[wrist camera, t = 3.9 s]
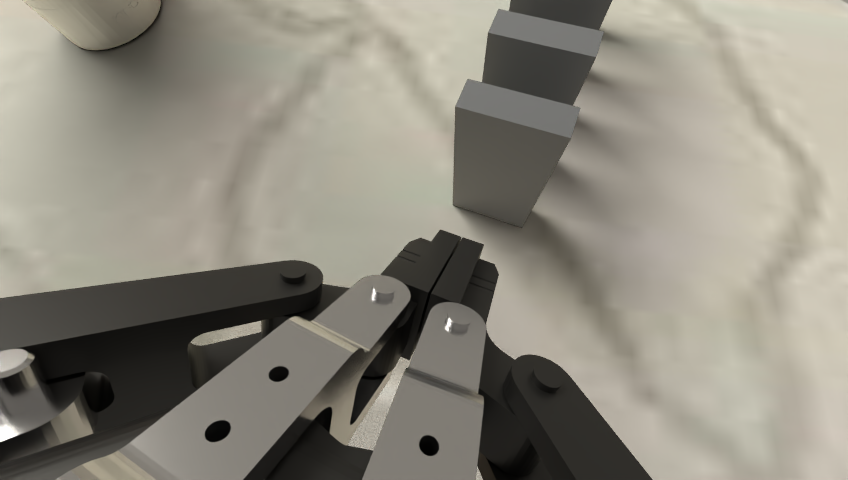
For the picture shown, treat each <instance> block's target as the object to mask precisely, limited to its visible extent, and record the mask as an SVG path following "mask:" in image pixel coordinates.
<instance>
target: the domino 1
mask: <svg viewBox="0 0 848 480" xmlns="http://www.w3.org/2000/svg"><path fill="white" fill-rule="evenodd" d="M611 2H612V0H511V2H510V8H509V11H510V12H515V13H520V14H524V15H529V16H534V17H538V18H543V19H548V20H552V21H557V22H562V23H566V24H571V25H576V26H580V27H585V28H590V29H594V30H599V28H600V26H601V24H602V22H603V20H604V17H605V15H606V13H607V11H608V9H609V6H610V4H611Z"/></svg>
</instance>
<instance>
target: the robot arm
mask: <svg viewBox="0 0 848 480" xmlns="http://www.w3.org/2000/svg"><path fill="white" fill-rule="evenodd" d="M23 1H24V2H25V3H26V4H27V5H29V6H30V7H31V8H32V9H33V10H34V11H36V12H37V13H38V14H39V15H40V16H42V17H43V18H44V19H45V20H46V21H47V22H49V23H50V24H51V25H52V26H53V27H55V28H56V29H57V30H58V31H59V32H60V33H62V34H63V35H64V36H65V37H66V38H68V39H69V40H70V41H71V42H72V43H74V44H75V45H77V46H78V47H81V48H84V49H88V50H104V49H109V48H113V47H117V46H120V45H122V44H125V43H127V42H129V41H130V40H132V39H134V38H136V37H137V36H139V35H140V34H141V33H143V32H144V31H145V30H146V29H147V28H148V27H149V26H150V25H151V24H152V22H153V21H154V20H155V18H156V17H157V14H158V12H159V10H160V5H161V0H23ZM483 246H484V245H483V244H480V243H478V242H475V241H472V240H469V239H466V238H462V240H461V237H460V236H457V235H454V234H452V233H449V232H446V231H443V230H440V231H439V232H438V233H437V235H436V236H435V237H434V239H433V240H432V241H428V240H425V239H422V238H419V239H416V240H414V241H411V242H409V243H408V244H407V245H406V246H405V248H404V249H403V251H401V252H400V253H399V254H398V256H397V257H396V258H395V259H394V260H393V261H392V262H391V263H390V265H389V266H388V267H387V268H386V269H385V270H384V271H383V272H382V274H381V275H371V276H367V277H364V278H362V279H361V280H359V281H358V282H357V283H356V284H354V285H353V286H352V287H351V288H345V287H338V286H332V285H325V284H323V274H322V272H321V271H320V269H318V268H317V267H316V266H314V265H312V264H310V263H307V262H303V261H296V260H289V261H280V262H273V263H265V264H257V265H250V266H242V267H235V268H227V269H219V270H212V271H204V272H197V273H189V274H181V275H174V276H166V277H159V278H151V279H143V280H136V281H128V282H120V283H113V284H105V285H98V286H90V287H82V288H75V289H67V290H60V291H52V292H44V293H37V294H29V295H22V296H14V297H6V298H0V480H476V472H477V466H478V469H479V471H480V473H481V475H482V478H483V480H652V478H651V477H650V476H649V475H648V473H647V472H646V471H645V470H644V468H643V467H642V466H641V465H640V463H639V462H638V461H637V460H636V458H635V457H634V456H633V455H632V453H631V452H630V451H629V450H628V448H627V447H626V446H625V445H624V443H623V442H622V441H621V440H620V438H619V437H618V436H617V435H616V433H615V432H614V431H613V430H612V428H611V427H610V426H609V425H608V423H607V422H606V421H605V420H604V418H603V417H602V416H601V415H600V413H599V412H598V411H597V410H596V408H595V407H594V406H593V405H592V403H591V402H590V401H589V400H588V398H587V397H586V396H585V395H584V393H583V392H582V391H581V390H580V388H579V387H578V386H577V385H576V383H575V382H574V381H573V380H572V378H571V377H570V376H569V375H568V374H567V373H566V372H565V371H564V370H563V369H562V368H561V367H560V366H558V365H557V364H555V363H554V362H552V361H550V360H548V359H546V358H543V357H541V356H537V355H523V356H520V357H518V358H517V359H516V360H514V359H513V358H511V357H510V356H508V355H507V354H505V353H504V352H503V351H501V350H500V349H499V348H498V347H497V346H496V345H495V344H494V343H493V342H492V340H491V339H490V337H489V336H488V333H487V330H486V321H487V317H488V314H489V310H490V306H491V302H492V298H493V295H494V291H495V287H496V283H497V279H498V276H499V274H498V271H497V269H496V267H495V264H493V263H490V262H487V261H484V260H481V259H479V258H480V255H481V252H482V249H483ZM256 321H261V331H262V332H260V333H256V334H252V335H248V336H243V337H239V338H235V339H231V340H226V341H222V342H218V343H214V344H209V345H204V346H197V345H194V344H192V343H190V342H191V341H192V340H193V339H194V338H195V337H197V336H198V335H200V334H203V333H206V332H210V331H215V330H220V329H224V328H229V327H233V326H238V325H243V324H247V323H252V322H256ZM414 350H415V352H414ZM413 352H414V354H413ZM412 354H413V357H412V359H411V362H410V365H409V367H408V368H406V370H405V372H404V374H403V376H402V379H401V382H400V384H399V387H398V389H397V392H396V394H395V397H394V399H393V402H392V405H391V407H390V410H389V412H388V415H387V417H386V420H385V422H384V425H383V427H382V430H381V433H380V435H379V438H378V440H377V443H376V445H375V448H374V450H373V451H372V450H367V449H362V448H357V447H351V446H347V445H348V443H349V441H350V439H351V437H352V436H353V434H354V432H355V431H356V429H357V428H358V426H359V425H360V423H361V422H362V420H363V419H364V417H365V416H366V414H367V413H368V411H369V410H370V408H371V407H372V405H373V404H374V402H375V400H376V399H377V397H378V396H379V394H380V393H381V391H382V390H383V388H384V387H385V385H386V384H387V382H388V381H389V379H390V377H391V373H392V370H393V369H394V367H395V366H396V364H397V362H398V360H399V358H400V357H403V358H406V359H408V360H410V358H411V356H412Z"/></svg>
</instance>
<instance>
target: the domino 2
mask: <svg viewBox="0 0 848 480" xmlns="http://www.w3.org/2000/svg"><path fill="white" fill-rule="evenodd" d="M603 34H604V31H599V30H594V29H590V28H585V27H580V26H576V25H571V24H566V23H562V22H557V21H552V20H548V19H543V18H538V17H534V16H529V15H524V14H520V13H515V12H510V11H506V10H501V9H498V11H497V14H496V16H495V18H494V20H493V23H492V25H491V27H490V29H489V32H488V38H487V46H486V54H485V63H484V71H483V79H482V83H486V84H490V85H494V86H497V87H501V88H505V89H509V90H513V91H517V92H521V93H525V94H529V95H533V96H536V97H540V98H544V99H548V100H552V101H556V102H560V103H564V104H568V105H572V106H573V104H574V102H575V100H576V98H577V96H578V94H579V92H580V89H581V87H582V85H583V83H584V81H585V79H586V77H587V75H588V73H589V71H590V69H591V67H592V65H593V63H594V61H595V59H596V56H597V53H598V50H599V46H600V43H601V40H602V37H603Z"/></svg>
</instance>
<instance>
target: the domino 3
mask: <svg viewBox="0 0 848 480" xmlns="http://www.w3.org/2000/svg"><path fill="white" fill-rule="evenodd" d="M579 111H580V108H579V107H575V106H572V105H568V104H564V103H560V102H556V101H552V100H548V99H544V98H540V97H536V96H533V95H529V94H525V93H521V92H517V91H513V90H509V89H505V88H501V87H497V86H494V85H490V84H486V83H482V82H478V81H474V80H470V79H467V81H466V84H465V86H464V88H463V90H462V93H461V95H460V97H459V99H458V102H457V104H456V106H455V137H454V176H453V205H455V206H458V207H461V208H464V209H467V210H470V211H473V212H476V213H479V214H482V215H485V216H488V217H491V218H494V219H497V220H500V221H503V222H506V223H509V224H512V225H515V226H518V227H521V228H522V227H523V225H524V223H525V221H526V219H527V217H528V216H529V214H530V212H531V210H532V208H533V207H534V205H535V203H536V201H537V199H538V197H539V196H540V194H541V192H542V190H543V188H544V186H545V185H546V183H547V181H548V179H549V177H550V176H551V174H552V172H553V170H554V168H555V166H556V165H557V163H558V161H559V159H560V157H561V156H562V154H563V152H564V150H565V148H566V146H567V145H568V143H569V141H570V139H571V137H572V133H573V130H574V127H575V124H576V120H577V117H578V114H579Z"/></svg>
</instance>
